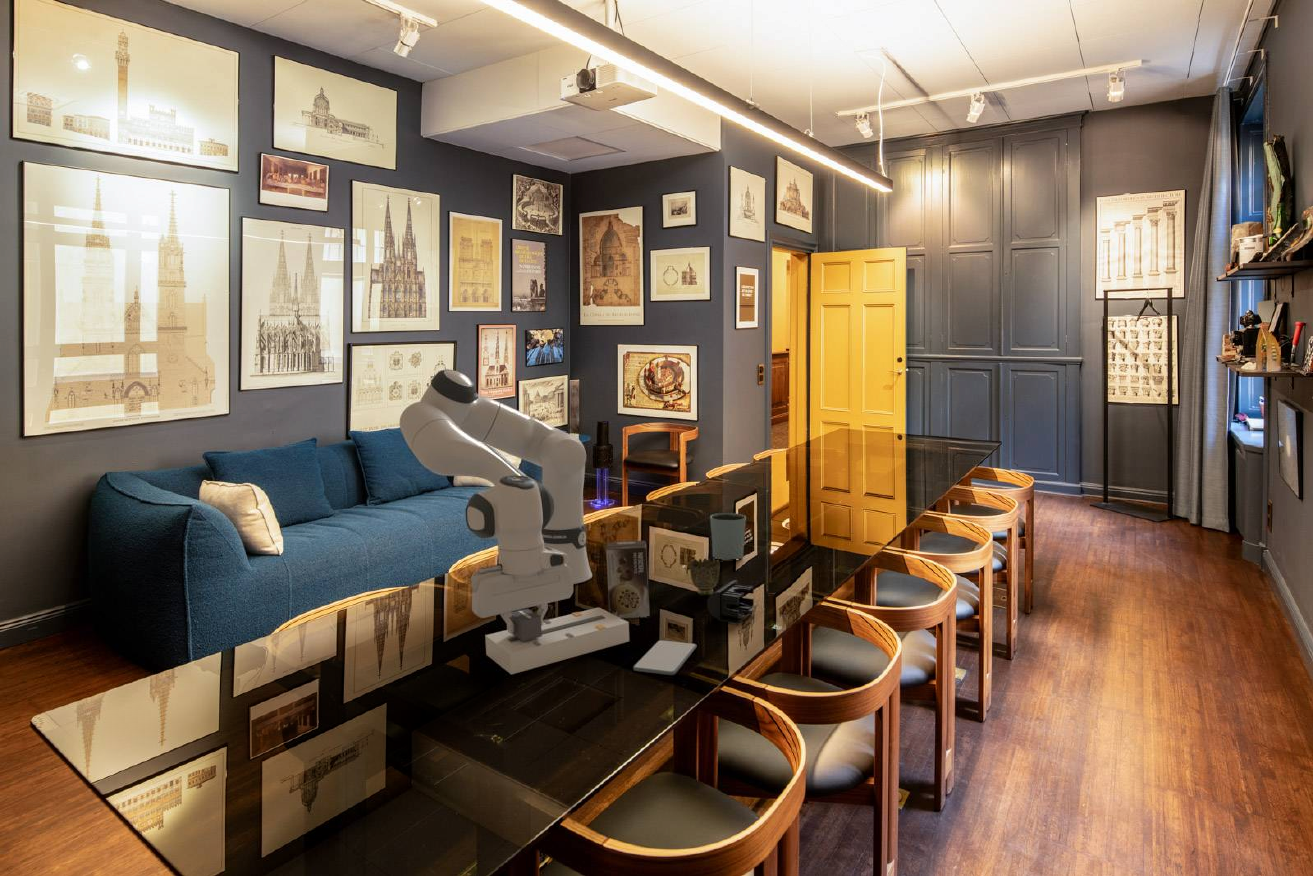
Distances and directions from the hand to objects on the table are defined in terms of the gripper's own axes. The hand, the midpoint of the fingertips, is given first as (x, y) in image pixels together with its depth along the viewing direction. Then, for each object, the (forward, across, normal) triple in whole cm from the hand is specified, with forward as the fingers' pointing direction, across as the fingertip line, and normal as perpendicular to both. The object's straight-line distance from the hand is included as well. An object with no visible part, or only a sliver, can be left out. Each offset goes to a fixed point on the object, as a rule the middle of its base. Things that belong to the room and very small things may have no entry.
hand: (525, 629), depth 149 cm
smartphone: (+6, +21, -18) cm, 28 cm away
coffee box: (+6, +29, +8) cm, 31 cm away
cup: (+6, +51, +8) cm, 52 cm away
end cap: (+6, +46, -8) cm, 47 cm away
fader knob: (+1, 0, 0) cm, 1 cm away
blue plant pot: (+6, +76, +30) cm, 82 cm away
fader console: (+6, +7, 0) cm, 9 cm away
